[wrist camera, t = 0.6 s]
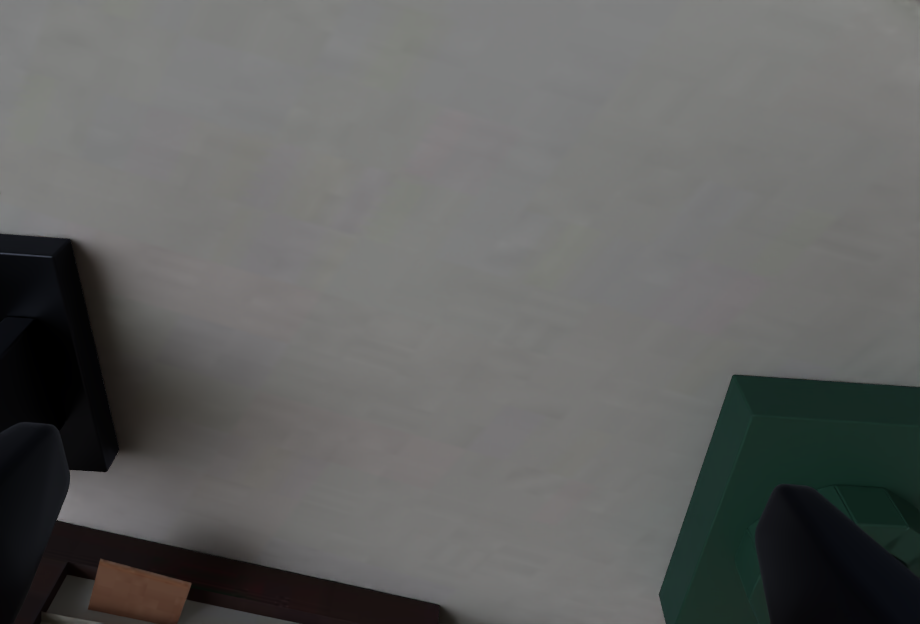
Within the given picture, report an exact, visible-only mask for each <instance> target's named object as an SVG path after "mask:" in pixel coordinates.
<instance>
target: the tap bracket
mask: <svg viewBox="0 0 920 624" xmlns="http://www.w3.org/2000/svg"><path fill="white" fill-rule="evenodd" d="M21 422H31V423H43V424H51V425H54V426H55V427H56V428H57V429H58V430H59V433H60V436H61V440H62V444H63V448H64V451H65V455H66V459H67V463H68V467H69V470H82V471H98V472H107V471H108V469H109V467H110V466H111V464H112V462H113V460H114V459H115V457H116V455H117V454H118V452H119V446H118V442H117V438H116V433H115V429H114V425H113V420H112V416H111V412H110V408H109V403H108V399H107V395H106V390H105V386H104V382H103V377H102V373H101V369H100V364H99V360H98V356H97V352H96V347H95V343H94V339H93V334H92V330H91V326H90V321H89V317H88V313H87V308H86V304H85V300H84V296H83V291H82V287H81V283H80V278H79V274H78V270H77V265H76V261H75V257H74V253H73V248H72V244H71V240H70V239H63V238H49V237H35V236H21V235H7V234H0V433H1V432H3V431H4V430H6V429H8V428H9V427H11V426H13V425H15V424H17V423H21Z"/></svg>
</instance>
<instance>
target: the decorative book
mask: <svg viewBox="0 0 920 624" xmlns="http://www.w3.org/2000/svg"><path fill="white" fill-rule="evenodd" d="M438 622H439V605H435V604H430V603H426V602H421V601H417V600H412V599H407V598H403V597H398V596H394V595H389V594H385V593H380V592H376V591H371V590H367V589H362V588H358V587H353V586H348V585H344V584H339V583H335V582H330V581H326V580H321V579H317V578H312V577H308V576H303V575H299V574H294V573H289V572H285V571H280V570H276V569H271V568H267V567H262V566H258V565H253V564H249V563H244V562H239V561H235V560H230V559H226V558H221V557H217V556H212V555H208V554H203V553H199V552H194V551H190V550H185V549H180V548H176V547H171V546H167V545H162V544H158V543H153V542H149V541H144V540H140V539H135V538H131V537H126V536H121V535H117V534H112V533H108V532H103V531H99V530H94V529H90V528H85V527H81V526H76V525H71V524H67V523H62V522H58V521H56V523H55V525H54V528H53V530H52V533H51V536H50V538H49V541H48V543H47V546H46V548H45V551H44V553H43V556H42V559H41V561H40V564H39V566H38V569H37V571H36V574H35V576H34V579H33V582H32V584H31V587H30V589H29V591H28V594H27V596H26V598H25V601H24V603H23V605H22V607H21V610H20V612H19V614H18V616H17V618H16V620H15V622H14V624H438Z"/></svg>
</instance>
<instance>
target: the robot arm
mask: <svg viewBox="0 0 920 624" xmlns="http://www.w3.org/2000/svg"><path fill="white" fill-rule="evenodd" d="M69 483H70V472H69V467H68V463H67V459H66V455H65V451H64V448H63V444H62V440H61V436H60V433H59V430H58V429H57V428H56V427H55V426H54V425H51V424H43V423H31V422H21V423H17V424H15V425H13V426H11V427H9V428H8V429H6V430H4V431H3V432H1V433H0V624H14V622H15V620H16V618H17V616H18V614H19V612H20V610H21V607H22V605H23V603H24V601H25V598H26V596H27V594H28V591H29V589H30V587H31V584H32V582H33V579H34V576H35V574H36V571H37V569H38V566H39V564H40V561H41V559H42V556H43V553H44V551H45V548H46V546H47V543H48V541H49V538H50V536H51V533H52V530H53V528H54V525H55V523H56V520H57V518H58V515H59V512H60V510H61V507H62V505H63V502H64V500H65V497H66V495H67V492H68V488H69ZM755 547H756V552H757V557H758V562H759V567H760V572H761V577H762V582H763V588H764V593H765V598H766V603H767V608H768V613H769V618H770V623H771V624H920V578H919V577H917V576H916V575H915V574H914V573H913V572H911V571H910V570H909V569H908V568H907V567H906V566H904V565H903V564H902V563H901V562H900V561H899V560H897V559H896V558H895V557H894V556H893V555H892V554H890V553H889V552H888V551H887V550H886V549H885V548H883V547H882V546H881V545H880V544H879V543H877V542H876V541H875V540H874V539H873V538H872V537H870V536H869V535H868V534H867V533H866V532H865V531H863V530H862V529H861V528H860V527H859V526H858V525H856V524H855V523H854V522H853V521H852V520H851V519H849V518H848V517H847V516H846V515H845V514H843V513H842V512H841V511H840V510H839V509H838V508H836V507H835V506H834V505H833V504H832V503H831V502H829V501H828V500H827V499H826V498H825V497H824V496H822V495H821V494H820V493H819V492H818V491H816V490H815V489H814V488H812V487H809V486H805V485H793V484H779V485H777V486H776V487H775V488H774V489H773V491H772V493H771V495H770V497H769V500H768V502H767V504H766V506H765V509H764V511H763V513H762V515H761V517H760V520H759V522H758V524H757V527H756V531H755Z"/></svg>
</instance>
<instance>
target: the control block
mask: <svg viewBox="0 0 920 624" xmlns="http://www.w3.org/2000/svg"><path fill="white" fill-rule="evenodd" d="M779 484H793V485H805V486H809V487H812V488H814V489H815V490H816V491H818V492H819V493H820V494H821V495H822V496H824V497H825V498H826V499H827V500H828V501H829V502H831V503H832V504H833V505H834V506H835V507H836V508H838V509H839V510H840V511H841V512H842V513H843V514H845V515H846V516H847V517H848V518H849V519H851V520H852V521H853V522H854V523H855V524H856V525H858V526H859V527H860V528H861V529H862V530H863V531H865V532H866V533H867V534H868V535H869V536H870V537H872V538H873V539H874V540H875V541H876V542H877V543H879V544H880V545H881V546H882V547H883V548H885V549H886V550H887V551H888V552H889V553H890V554H892V555H893V556H894V557H895V558H896V559H897V560H899V561H900V562H901V563H902V564H903V565H904V566H906V567H907V568H908V569H909V570H910V571H911V572H913V573H914V574H915V575H916V576H917V577H919V578H920V387H905V386H890V385H875V384H861V383H846V382H831V381H817V380H802V379H787V378H773V377H758V376H743V375H733V376H732V379H731V382H730V385H729V388H728V391H727V394H726V397H725V400H724V403H723V406H722V409H721V412H720V415H719V418H718V421H717V424H716V427H715V430H714V433H713V436H712V439H711V442H710V445H709V448H708V451H707V453H706V456H705V459H704V462H703V465H702V468H701V471H700V474H699V477H698V480H697V483H696V486H695V489H694V492H693V495H692V498H691V501H690V504H689V507H688V510H687V513H686V516H685V519H684V522H683V525H682V528H681V531H680V534H679V537H678V540H677V543H676V546H675V549H674V552H673V554H672V557H671V560H670V563H669V566H668V569H667V572H666V575H665V578H664V581H663V584H662V587H661V590H660V593H659V597H660V601H661V605H662V609H663V613H664V617H665V621H666V624H771V623H770V618H769V613H768V608H767V603H766V598H765V593H764V588H763V582H762V577H761V572H760V567H759V562H758V557H757V552H756V547H755V531H756V527H757V524H758V522H759V520H760V517H761V515H762V513H763V511H764V509H765V506H766V504H767V502H768V500H769V497H770V495H771V493H772V491H773V489H774V488H775V487H776V486H777V485H779Z"/></svg>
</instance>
